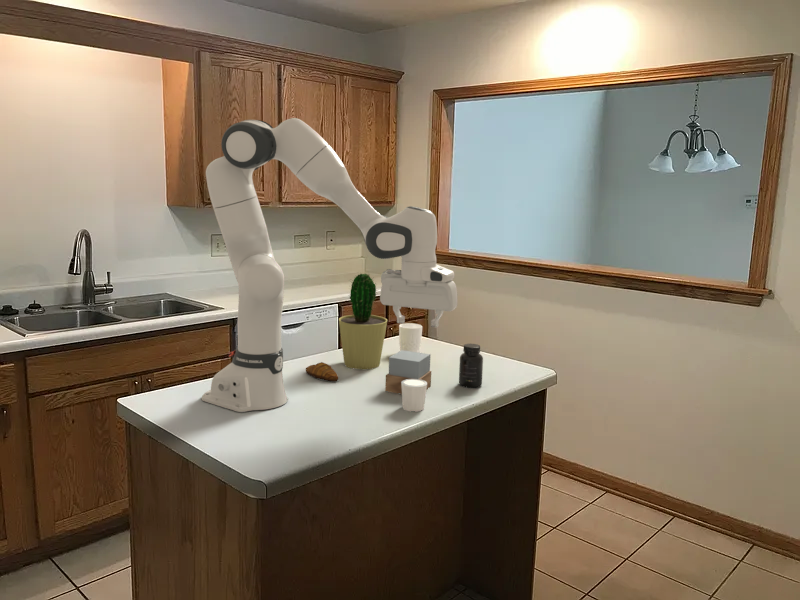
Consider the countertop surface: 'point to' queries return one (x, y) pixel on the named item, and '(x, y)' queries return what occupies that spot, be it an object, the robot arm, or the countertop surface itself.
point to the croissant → (322, 372)
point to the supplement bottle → (471, 366)
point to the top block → (409, 364)
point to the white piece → (413, 394)
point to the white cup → (410, 337)
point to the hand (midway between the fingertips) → (417, 324)
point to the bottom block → (395, 381)
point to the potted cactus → (362, 327)
